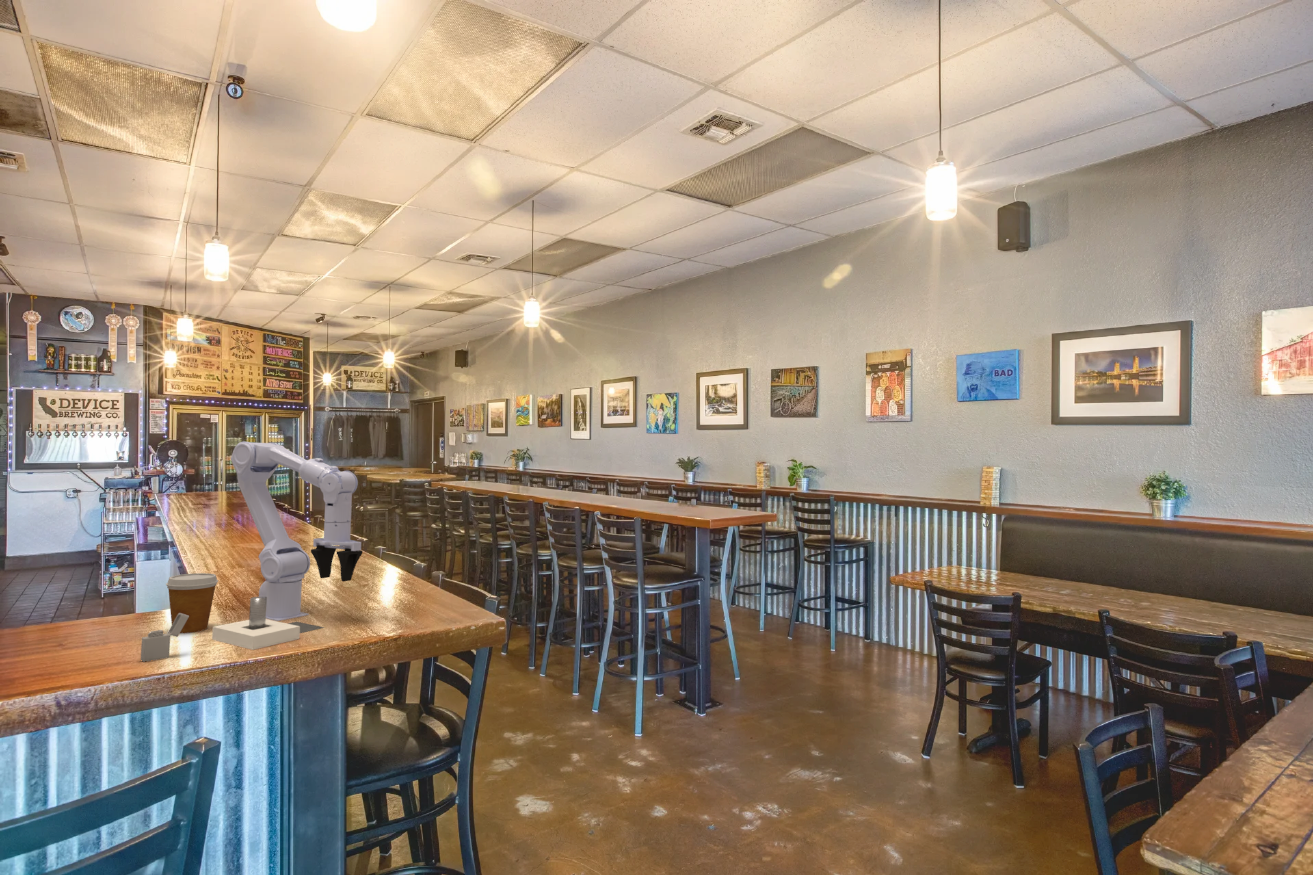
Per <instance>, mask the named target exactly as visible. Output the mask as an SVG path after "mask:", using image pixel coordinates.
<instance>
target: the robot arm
mask: <svg viewBox="0 0 1313 875" xmlns="http://www.w3.org/2000/svg"><path fill="white" fill-rule="evenodd" d="M230 461H231V463H232V466H233V468H234V470H235V473H236V476H237V484H238V487H239V489H240V492H241V494H242V496H243V499H244V502H245V503H246V506H247V508H248V510H249V513H250V515H251V518H252V520H253V522H254V524H255V527H256V530H257V532H258V535H259V536H260V538H261V541H262V543H263V546H264V547H263V549H262V550H261V551H260V553H259V555H258V560H259V562H260V572H261V575H262V576H263V578H264V579H265V580H264V582H263V583H262V584H261V585H260V588H259V589H258V597H267V604H266V619H268V620H273V621H277V622H282V621H285V620H289V619H295V618H300V617H304V616H305V617H306V616H309V613H307V612H303V611H301V607H302V586H303V584H302V583H303V579H305V575H306V574H307V573H308V571H309V569H310V567H311V559H310V556H309V554H308V553H307V552H306V551H305V550H304V549H303V548H302V546H301V544H300V543H299V542H298V541H295V540H293V539H292V538H291V537H289V534H288V532H287V530H286V528H285V525H284V523H283V520H282V518H281V516H280V514H279V512H278V509H277V506H276V504H275V502H274V500H273V498H272V495H271V493H270V491H269V489H268V486H267V480H269V479H270V478H271V477H272V475H273V474H274V472H275V471H276V470H277V469H278V467H279V466H282V467H285V468H287V469H290V470H292V471H293V472H294V471H295V472H297V473H299V477H300V479H301V480H302V481H305V482H306V483H309V484H311V485H313V486H315V487H317V488H318V489H319V488H320V491H321V493H322V496H323V501H324V524H323V525H324V526H323V529H324V530H323V537H318V538H313V544H312V545H313V547H314V548H311V549H310V553H311V555H312V557H313V559H314V560H315V562H316V565H317V568H318V569H317V570H318V573H319V578H320V579H326V578H330V577H331V574H332V565H333V559H334V555H335V553H336V555H337V557H338V561H339V565H340V566H339V567H340V579H341V582H349V581H352V578H353V575H354V572H355V568H356V566H357V564H358V561H359V560H360V558H361V556H362V555H363V550H362V541H357V540H352V539H351V532H352V531H351V529H352V528H351V527H352V522H351V521H352V506H353V505H352V504H353V503H352V498H353V497H352V496H353V494H354V493H355V492H356V490H358V489H357V488H358V485H359V484H358V483H359V481H358V478H357V476H356V474H354V473H353V472H352V471H350V470H344V471H341V470H340V469H339V467H338V466H336V465H329V464H327V463H325V462H324V459H323V458H321V457H319V458H318V457H315V458H310V459H305V458H303V457H302V456H300V455H299V454H296V453H294V452H293V451H291V450H289V449H287V448H285V446H284V445H281V444H278V443H276V442H249V441H244V440H243V441H240V442H238V443H237V444H236V445H235V446H234V448H233V451H232V454H231V457H230ZM337 549H338V551H337Z"/></svg>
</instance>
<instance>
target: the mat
mask: <svg viewBox="0 0 1313 875" xmlns="http://www.w3.org/2000/svg"><path fill="white" fill-rule="evenodd" d="M287 624H291V625H296V626H300V634H303V633H308V632H312V631H316V630H321V629H324V628H326V627H324V626H320V625H316V624H310V623H307V622H301V621H293V622H288V623H287Z"/></svg>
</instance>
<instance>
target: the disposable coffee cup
mask: <svg viewBox="0 0 1313 875" xmlns="http://www.w3.org/2000/svg"><path fill="white" fill-rule="evenodd" d="M218 583H219V580H218V579H217V575H216V574H214V573H208V572H207V573H206V572H204V573H203V572H201V573H199V572H197V573H195V572H194V573H184V574H176V575H171V576H169V577H168V580H167V582H166V583H165V586H166V587H167V589H168V599H169V609H170V619H171V620H170V621H171V625H172V624H173V622H174V621H175V619H176V617H177V615H178V614H179V613H182V614H186V615H188V616H189V617H188V619H187V621H186V623H185V624H184V626H183V628H182V630H181V632H180V633H179V634H191V633H197V632H201V631H205V630H208V626H209V621H210V617H211V616H210V615H211V610H212V605H213V600H214V595H215V590H216V586H217V585H218Z"/></svg>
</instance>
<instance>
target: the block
mask: <svg viewBox="0 0 1313 875" xmlns="http://www.w3.org/2000/svg"><path fill="white" fill-rule="evenodd" d="M300 634H301V633H300V626H296V625H291V624H287V623H286V622H282V621H275V620H270V619H266V622H265V628H260V629H256V630H251V629H249V619H246V620H240V621H236V622H230V623H225V624H219V625H216V626H212V634H211V635H212V636H211V640H213V641H216V642H219V643H225V644H227V645H228V644H229V645H231V646H232V645H233V646H237V647H240V648H243V649H247V650H251V651H254V650H259V649H263V648H267V647H270V646H275V645H280V644H283V643H288V642H292V641H296V640H300Z"/></svg>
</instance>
